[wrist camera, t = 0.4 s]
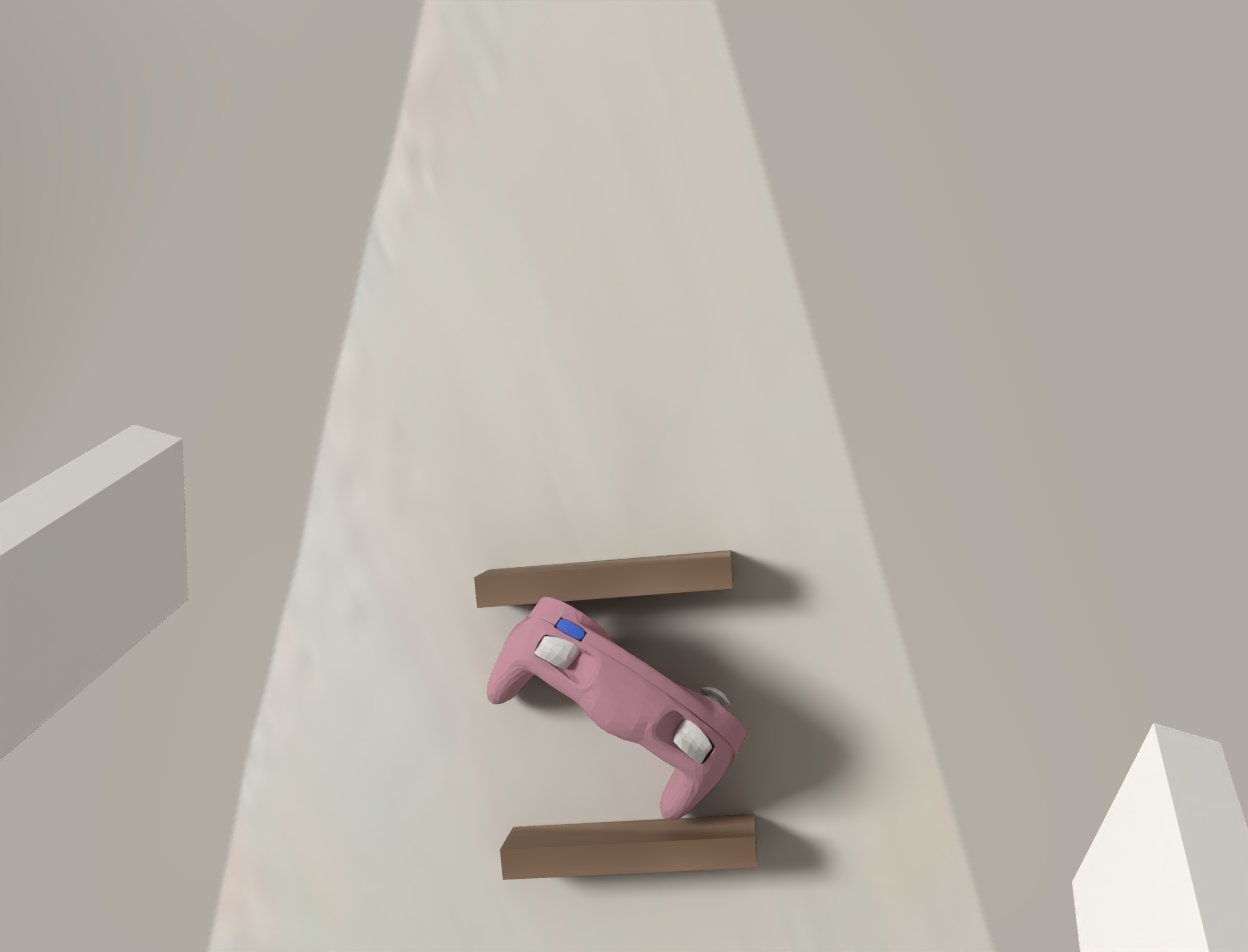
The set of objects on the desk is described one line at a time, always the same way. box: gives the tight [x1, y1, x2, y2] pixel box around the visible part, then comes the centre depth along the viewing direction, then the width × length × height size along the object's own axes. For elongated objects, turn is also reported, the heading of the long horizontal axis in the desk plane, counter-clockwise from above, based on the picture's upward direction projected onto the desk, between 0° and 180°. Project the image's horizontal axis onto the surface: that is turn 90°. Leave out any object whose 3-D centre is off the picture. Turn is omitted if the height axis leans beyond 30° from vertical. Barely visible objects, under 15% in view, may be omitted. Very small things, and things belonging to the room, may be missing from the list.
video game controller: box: [487, 597, 747, 820], centre depth 42 cm, size 10×5×7 cm, turn 57°
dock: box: [474, 550, 757, 880], centre depth 44 cm, size 12×10×2 cm
